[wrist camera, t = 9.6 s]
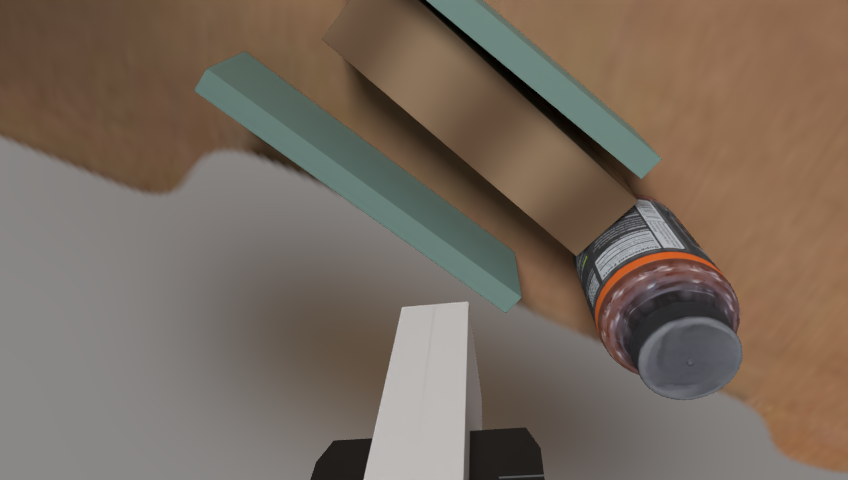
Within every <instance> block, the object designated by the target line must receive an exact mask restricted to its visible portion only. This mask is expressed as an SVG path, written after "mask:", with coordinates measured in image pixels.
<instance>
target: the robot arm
mask: <svg viewBox="0 0 848 480" xmlns="http://www.w3.org/2000/svg"><path fill="white" fill-rule="evenodd" d="M311 480H545V479H544V473H543V464H542V458H541V449H540V447H539V445H538V444H537V443H536V442H535V440H534V438H533V437H532V436H531V434H530V433H529V431H528V430H527V429H526V428H511V429H494V430H482V399H481V391H480V384H479V376H478V369H477V362H476V355H475V347H474V340H473V332H472V325H471V317H470V310H469V302H468V301H467V302H456V303H445V304H434V305H422V306H411V307H402V310H401V314H400V319H399V323H398V328H397V332H396V337H395V341H394V346H393V350H392V354H391V359H390V364H389V368H388V373H387V377H386V381H385V386H384V390H383V395H382V399H381V404H380V408H379V413H378V417H377V421H376V426H375V431H374V435H373V438H371V439H355V440H337V441H333V442H332V444H331V445H330V446H329V447H328V449H327V450H326V451H325V452H324V453H323V455H322V456H321V457H320V458H319V459H318V461H317V462H316V464H315V468H314V471H313V474H312V477H311Z"/></svg>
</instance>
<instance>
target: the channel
mask: <svg viewBox="0 0 848 480" xmlns="http://www.w3.org/2000/svg"><path fill="white" fill-rule="evenodd" d="M427 1H428V2H429V3H430V4H431V5H433V6H434V7H435V8H436V9H437V10H439V11H440V12H441V13H442V14H443V15H445V16H446V17H447V18H448V19H449V20H451V21H452V22H453V23H454V24H455V25H457V26H458V27H459V28H460V29H461V30H463V31H464V32H465V33H466V34H467V35H469V36H470V37H471V38H472V39H473V40H475V41H476V42H477V43H478V44H479V45H481V46H482V47H483V48H484V49H485V50H487V51H488V52H489V53H490V54H491V55H493V56H494V57H495V58H496V59H497V60H499V61H500V62H501V63H502V64H503V65H505V66H506V67H507V68H508V69H510V70H511V71H512V72H513V73H514V74H516V75H517V76H518V77H519V78H520V79H522V80H523V81H524V82H525V83H526V84H528V85H529V86H530V87H531V88H532V89H534V90H535V91H536V92H537V93H538V94H540V95H541V96H542V97H543V98H544V99H546V100H547V101H548V102H549V103H550V104H552V105H553V106H554V107H555V108H556V109H558V110H559V111H560V112H561V113H562V114H564V115H565V116H566V117H567V118H568V119H570V120H571V121H572V122H573V123H574V124H576V125H577V126H578V127H579V128H580V129H582V130H583V131H584V132H585V133H586V134H588V135H589V136H590V137H591V138H593V139H594V140H595V141H596V142H597V143H599V144H600V145H601V146H602V147H603V148H605V149H606V150H607V151H608V152H609V153H611V154H612V155H613V156H614V157H615V158H617V159H618V160H619V161H620V162H621V163H623V164H624V165H625V166H626V167H627V168H629V169H630V170H631V171H632V172H633V173H635V174H636V175H637V176H638V177H639V178H641V179H642V178H643V177H644V176H645V175H646V174H647V173H648V172H649V171H650V170H651V169H652V168H653V167H654V166H655V165H656V164H657V163H658V162H659V161H660V160H661V158H660V157H659V156H658V155H657V154H656V152H655V151H654V150H653V149H652V148H651V147H650V146H649V145H648V144H647V143H646V142H645V141H644V140H643V139H642V137H641V136H640V135H639V134H638V133H637V132H636V131H635V130H634V129H633V128H632V127H631V126H630V125H628V124H627V123H626V122H625V121H624V120H623V119H621V118H620V117H619V116H618V115H617V114H615V113H614V112H613V111H612V110H611V109H610V108H608V107H607V106H606V105H605V104H604V103H603V102H601V101H600V100H599V99H598V98H597V97H596V96H594V95H593V94H592V93H591V92H590V91H589V90H587V89H586V88H585V87H584V86H583V85H581V84H580V83H579V82H578V81H577V80H576V79H574V78H573V77H572V76H571V75H570V74H569V73H567V72H566V71H565V70H564V69H563V68H562V67H560V66H559V65H558V64H557V63H556V62H555V61H553V60H552V59H551V58H550V57H549V56H548V55H546V54H545V53H544V52H543V51H542V50H540V49H539V48H538V47H537V46H536V45H535V44H533V43H532V42H531V41H530V40H529V39H528V38H526V37H525V36H524V35H523V34H522V33H521V32H519V31H518V30H517V29H516V28H515V27H514V26H512V25H511V24H510V23H509V22H508V21H507V20H505V19H504V18H503V17H502V16H501V15H499V14H498V13H497V12H496V11H495V10H494V9H492V8H491V7H490V6H489V5H488V4H487V3H485V2H484V1H483V0H427ZM194 91H195V92H197V93H198V94H199V95H201V96H202V97H204V98H205V99H206V100H208V101H209V102H211V103H212V104H213V105H215V106H216V107H218V108H219V109H220V110H222V111H223V112H225V113H226V114H227V115H229V116H230V117H232V118H233V119H234V120H236V121H237V122H239V123H240V124H241V125H243V126H244V127H246V128H247V129H248V130H250V131H251V132H253V133H254V134H255V135H257V136H258V137H260V138H261V139H262V140H264V141H265V142H267V143H268V144H269V145H271V146H272V147H274V148H275V149H276V150H278V151H279V152H281V153H282V154H283V155H285V156H286V157H288V158H289V159H290V160H292V161H293V162H295V163H296V164H297V165H299V166H300V167H302V168H303V169H304V170H306V171H307V172H309V173H310V174H311V175H313V176H314V177H316V178H317V179H318V180H320V181H321V182H323V183H324V184H325V185H327V186H328V187H330V188H331V189H332V190H334V191H335V192H337V193H338V194H339V195H341V196H342V197H344V198H345V199H346V200H348V201H349V202H351V203H352V204H353V205H355V206H356V207H358V208H359V209H361V210H362V211H363V212H365V213H366V214H368V215H369V216H370V217H372V218H373V219H375V220H376V221H377V222H379V223H380V224H382V225H383V226H384V227H386V228H387V229H389V230H390V231H391V232H393V233H394V234H396V235H397V236H398V237H400V238H401V239H403V240H404V241H405V242H407V243H408V244H410V245H411V246H413V247H414V248H415V249H417V250H418V251H419V252H421V253H422V254H424V255H425V256H426V257H428V258H429V259H431V260H432V261H433V262H435V263H436V264H438V265H439V266H440V267H442V268H443V269H445V270H446V271H447V272H449V273H450V274H452V275H453V276H454V277H456V278H457V279H459V280H460V281H462V282H463V283H464V284H466V285H467V286H469V287H470V288H471V289H473V290H474V291H476V292H477V293H478V294H480V295H481V296H483V297H484V298H485V299H487V300H488V301H489V302H491V303H492V304H494V305H495V306H496V307H498V308H499V309H501V310H502V311H503V312H505V313H507V312H508V310H510V309H511V308H512V307H513V306H514V305H515V304H516V303H517V302H518V301H519V300H520V299H521V298H522V296H521V290H520V284H519V277H518V271H517V265H516V259H515V252H514V251H512V250H511V249H510V248H508V247H507V246H506V245H504V244H503V243H501V242H500V241H499V240H497V239H496V238H495V237H493V236H492V235H491V234H489V233H488V232H487V231H485V230H484V229H483V228H481V227H480V226H479V225H477V224H476V223H475V222H473V221H472V220H471V219H469V218H468V217H467V216H465V215H464V214H463V213H461V212H460V211H459V210H457V209H456V208H455V207H453V206H452V205H451V204H449V203H448V202H447V201H445V200H444V199H442V198H441V197H440V196H438V195H437V194H436V193H434V192H433V191H432V190H430V189H429V188H428V187H426V186H425V185H424V184H422V183H421V182H420V181H418V180H417V179H416V178H414V177H413V176H412V175H410V174H409V173H408V172H406V171H405V170H404V169H402V168H401V167H400V166H398V165H397V164H396V163H394V162H393V161H392V160H390V159H389V158H388V157H386V156H385V155H383V154H382V153H381V152H379V151H378V150H377V149H375V148H374V147H373V146H371V145H370V144H369V143H367V142H366V141H365V140H363V139H362V138H361V137H359V136H358V135H357V134H355V133H354V132H353V131H351V130H350V129H349V128H347V127H346V126H345V125H343V124H342V123H341V122H339V121H338V120H337V119H335V118H334V117H333V116H331V115H330V114H329V113H327V112H326V111H325V110H323V109H322V108H320V107H319V106H318V105H316V104H315V103H314V102H312V101H311V100H310V99H308V98H307V97H306V96H304V95H303V94H302V93H300V92H299V91H298V90H296V89H295V88H294V87H292V86H291V85H290V84H288V83H287V82H286V81H284V80H283V79H282V78H280V77H279V76H278V75H276V74H275V73H274V72H272V71H271V70H270V69H268V68H267V67H266V66H264V65H263V64H261V63H260V62H259V61H257V60H256V59H255V58H253V57H252V56H251V55H249V54H248V53H247V52H245V51H244V52H242V53H240V54H238V55H236V56H233V57H231V58H229V59H227V60H225V61H223V62H220V63H218V64H216V65H214V66H212V67H209V68H207V69H206V71H205V73H204V74H203V76H202V78H201V80H200V81H199V83H198V85H197V86H196V88H195V90H194Z"/></svg>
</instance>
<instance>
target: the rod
mask: <svg viewBox="0 0 848 480" xmlns="http://www.w3.org/2000/svg"><path fill="white" fill-rule="evenodd" d="M322 40H323V41H324V42H325V43H327V44H328V45H329V46H330V47H331V48H333V49H334V50H335V51H336V52H337V53H338V54H340V55H341V56H342V57H343V58H344V59H345V60H347V61H348V62H349V63H350V64H351V65H352V66H354V67H355V68H356V69H357V70H358V71H360V72H361V73H362V74H363V75H364V76H365V77H367V78H368V79H369V80H370V81H371V82H372V83H374V84H375V85H376V86H377V87H378V88H379V89H381V90H382V91H383V92H384V93H385V94H387V95H388V96H389V97H390V98H391V99H392V100H394V101H395V102H396V103H397V104H398V105H399V106H401V107H402V108H403V109H404V110H405V111H406V112H408V113H409V114H410V115H411V116H412V117H414V118H415V119H416V120H417V121H418V122H419V123H421V124H422V125H423V126H424V127H425V128H426V129H428V130H429V131H430V132H431V133H432V134H433V135H435V136H436V137H437V138H438V139H439V140H441V141H442V142H443V143H444V144H445V145H446V146H448V147H449V148H450V149H451V150H452V151H453V152H455V153H456V154H457V155H458V156H459V157H460V158H462V159H463V160H464V161H465V162H466V163H468V164H469V165H470V166H471V167H472V168H473V169H475V170H476V171H477V172H478V173H479V174H480V175H482V176H483V177H484V178H485V179H486V180H487V181H489V182H490V183H491V184H492V185H493V186H495V187H496V188H497V189H498V190H499V191H500V192H502V193H503V194H504V195H505V196H506V197H507V198H509V199H510V200H511V201H512V202H513V203H514V204H516V205H517V206H518V207H519V208H520V209H522V210H523V211H524V212H525V213H526V214H527V215H529V216H530V217H531V218H532V219H533V220H534V221H536V222H537V223H538V224H539V225H540V226H541V227H543V228H544V229H545V230H546V231H547V232H548V233H550V234H551V235H552V236H553V237H554V238H556V239H557V240H558V241H559V242H560V243H561V244H563V245H564V246H565V247H566V248H567V249H568V250H570V251H571V252H572V253H573V254H574V255H575V256H577V255H578V254H580V253H581V252H582V251H583V250H584V249H585V248H586V247H587V246H589V245H590V244H591V243H592V242H593V241H594V240H595V239H596V238H598V237H599V236H600V235H601V234H602V233H603V232H604V231H605V230H607V229H608V228H609V227H610V226H611V225H612V224H613V223H614V222H616V221H617V220H618V219H619V218H620V217H621V216H622V215H623V214H625V213H626V212H627V211H628V210H629V209H630V208H631V207H632V206H634V205H635V204H636V203H637V202H638V200H637V199H636V197H635V196H634V194H633V193H632V191H631V190H630V188H629V187H628V185H627V184H626V182H625V181H624V179H623V178H622V176H621V175H620V174H619V173H618V172H617V171H616V170H615V169H613V168H612V167H611V166H610V165H609V164H608V163H607V162H606V161H605V160H604V159H603V158H602V157H600V156H599V155H598V154H597V153H596V152H595V151H594V150H593V149H592V148H591V147H590V146H588V145H587V144H586V143H585V142H584V141H583V140H582V139H581V138H580V137H579V136H578V135H577V134H575V133H574V132H573V131H572V130H571V129H570V128H569V127H568V126H567V125H566V124H565V123H563V122H562V121H561V120H560V119H559V118H558V117H557V116H556V115H555V114H554V113H553V112H552V111H550V110H549V109H548V108H547V107H546V106H545V105H544V104H543V103H542V102H541V101H540V100H539V99H537V98H536V97H535V96H534V95H533V94H532V93H531V92H530V91H529V90H528V89H527V88H525V87H524V86H523V85H522V84H521V83H520V82H519V81H518V80H517V79H516V78H515V77H514V76H512V75H511V74H510V73H509V72H508V71H507V70H506V69H505V68H504V67H503V66H502V65H500V64H499V63H498V62H497V61H496V60H495V59H494V58H493V57H492V56H491V55H490V54H489V53H487V52H486V51H485V50H484V49H483V48H482V47H481V46H480V45H479V44H478V43H477V42H476V41H474V40H473V39H472V38H471V37H470V36H469V35H467V34H466V33H465V32H464V31H463V30H461V29H460V28H459V27H458V26H457V25H455V24H454V23H453V22H452V21H451V20H449V19H448V18H447V17H446V16H445V15H443V14H442V13H441V12H440V11H439V10H437V9H436V8H435V7H434V6H433V5H431V4H430V3H429V2H428V1H427V0H350V1H349V2H348V4H347V5H346V6H345V8H344V9H343V11H342V12H341V13H340V15H339V16H338V17H337V19H336V20H335V21H334V23H333V24H332V25H331V27H330V28H329V30H328V31H327V32H326V34H325V35H324V36H323V38H322Z"/></svg>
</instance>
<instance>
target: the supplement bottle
mask: <svg viewBox="0 0 848 480" xmlns="http://www.w3.org/2000/svg"><path fill="white" fill-rule="evenodd" d="M634 196H635V197H636V199H637V200H638V202H637V203H636V204H635V205H634V206H632V207H631V208H630V209H629V210H628V211H627V212H626V213H625V214H623V215H622V216H621V217H620V218H619V219H618V220H617V221H616V222H614V223H613V224H612V225H611V226H610V227H609V228H608V229H607V230H605V231H604V232H603V233H602V234H601V235H600V236H599V237H598V238H596V239H595V240H594V241H593V242H592V243H591V244H590V245H589V246H587V247H586V248H585V249H584V250H583V251H582V252H581V253H580V254H578V255H577V256H575V255H574V254H573V253H572V255H573V261H574V265H575V268H576V271H577V274H578V277H579V280H580V282H581V285H582V289H583V291H584V294H585V297H586V300H587V303H588V305H589V308H590V311H591V314H592V317H593V320H594V322H595V325H596V328H597V330H598V333H599V336H600V339H601V341H602V343H603V345H604V346H605V348H606V349H607V351H608V352H609V354H610V356H611V357H612V358H613V359H614V360H615V361H616V362H617V363H619V364H620V365H621V366H623V367H624V368H626V369H627V370H629V371H631V372H633V373H636V374H638V375H640V377H641V379H642V380H643V382H644V383H645V384H646V385H647V387H648V388H649V389H651V390H652V391H654V392H655V393H657V394H659V395H661V396H664V397H667V398H671V399H677V400H692V399H696V398H700V397H704V396H707V395H709V394H712V393H714V392H716V391H718V390H719V389H721V388H723V387H724V386H725V385H726V384H728V383H729V382H730V381H731V380H732V379H733V377H734V376H735V374H736V373H737V371H738V370H739V367H740V364H741V361H742V346H741V342H740V340H739V338H738V336H737V334H736V333H737V330H738V327H739V323H740V308H739V303H738V300H737V297H736V295H735V292H734V290H733V289H732V287H731V284H730V283H729V282H728V281H727V279H726V278H725V277H724V276H723V274H722V273H721V271H720V270H719V269H718V268H717V267H716V265H715V264H714V263H713V262H712V261H711V259H710V258H709V257H708V256H707V254H706V253H705V252H704V251H703V250H702V249H701V247H700V246H699V244H698V243H697V242H696V241H695V240H694V238H693V237H692V236H691V235H690V234H689V232H688V231H687V230H686V229H685V227H684V226H683V225H682V223H681V222H680V220H679V219H677V218H676V216H675V215H674V214H673V213H672V212H671V211H670V210H669V209H668V208H667V207H666V206H664V205H663V204H662V203H660V202H659V201H657V200H655V199H653V198H650V197H647V196H642V195H634Z"/></svg>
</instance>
